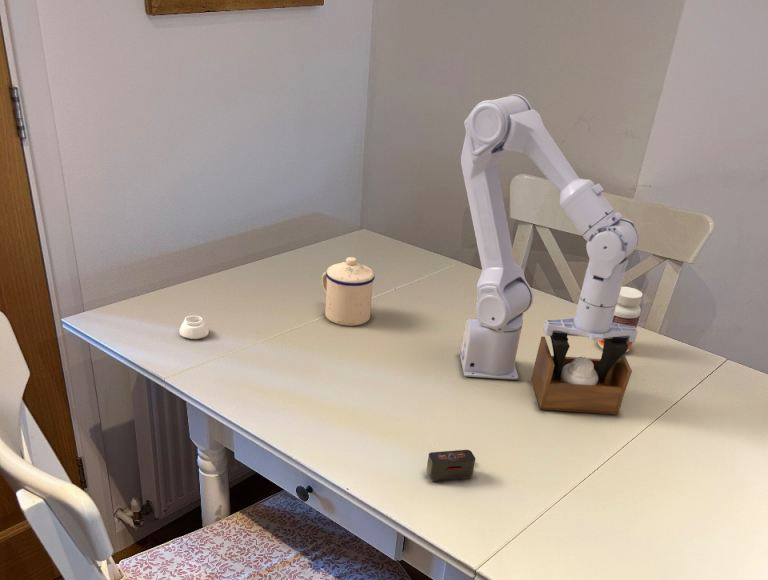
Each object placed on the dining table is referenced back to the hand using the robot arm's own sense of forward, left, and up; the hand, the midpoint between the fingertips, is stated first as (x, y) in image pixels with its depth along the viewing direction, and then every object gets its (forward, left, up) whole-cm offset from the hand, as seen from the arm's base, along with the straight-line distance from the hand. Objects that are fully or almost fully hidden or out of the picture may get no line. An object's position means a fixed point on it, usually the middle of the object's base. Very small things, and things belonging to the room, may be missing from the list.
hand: (578, 376), depth 129 cm
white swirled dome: (0, 0, -3) cm, 3 cm away
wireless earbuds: (-22, -23, -5) cm, 33 cm away
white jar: (-65, +14, -5) cm, 67 cm away
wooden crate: (0, 0, -4) cm, 4 cm away
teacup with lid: (-39, +27, -5) cm, 48 cm away
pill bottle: (+13, +21, -5) cm, 25 cm away
